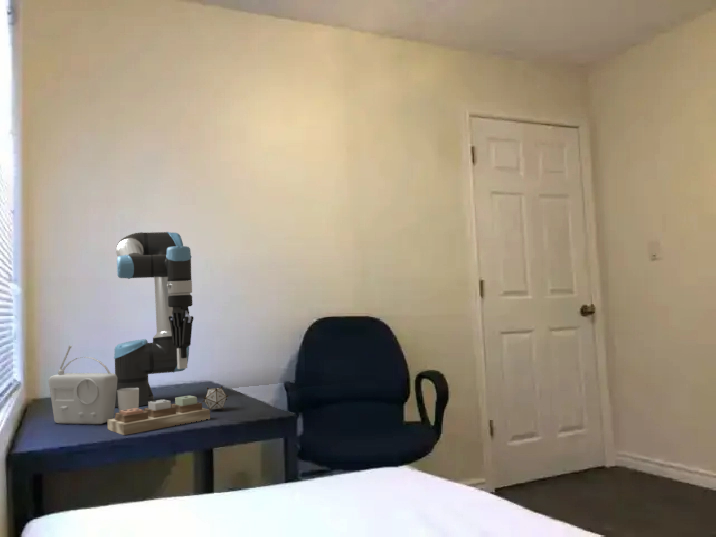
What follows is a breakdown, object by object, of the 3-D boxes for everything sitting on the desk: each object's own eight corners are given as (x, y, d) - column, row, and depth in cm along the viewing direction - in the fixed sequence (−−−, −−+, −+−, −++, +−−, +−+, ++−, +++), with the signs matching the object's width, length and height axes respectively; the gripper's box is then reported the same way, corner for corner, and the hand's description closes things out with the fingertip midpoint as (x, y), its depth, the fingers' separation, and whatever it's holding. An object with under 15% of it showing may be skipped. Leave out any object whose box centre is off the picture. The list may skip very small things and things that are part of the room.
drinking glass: (115, 420, 211) (114, 389, 212) (136, 417, 215) (135, 387, 216) (121, 423, 206) (120, 391, 206) (142, 420, 210) (141, 389, 210)
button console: (107, 429, 198) (107, 412, 198) (191, 414, 217) (191, 399, 217) (123, 435, 189) (123, 417, 189) (210, 419, 208) (209, 403, 208)
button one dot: (175, 405, 209) (175, 397, 209) (189, 403, 213) (189, 395, 213) (182, 407, 206) (182, 398, 206) (197, 404, 209) (196, 396, 209)
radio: (45, 424, 210) (43, 346, 210) (63, 419, 218) (61, 344, 218) (103, 426, 204) (101, 345, 205) (120, 420, 212) (118, 343, 213)
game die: (219, 422, 221) (220, 401, 216) (197, 413, 223) (197, 392, 218) (232, 404, 229) (233, 384, 223) (210, 396, 230) (211, 375, 225)
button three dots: (120, 418, 197) (119, 410, 197) (136, 416, 201) (135, 407, 201) (126, 420, 194) (126, 412, 194) (143, 418, 197) (142, 409, 197)
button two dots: (148, 409, 203) (148, 401, 203) (163, 407, 207) (163, 399, 207) (155, 411, 200) (155, 403, 200) (170, 409, 203) (170, 400, 203)
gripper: (160, 295, 212) (162, 368, 211) (178, 294, 202) (180, 371, 202) (181, 294, 217) (184, 365, 216) (200, 293, 207) (202, 368, 207)
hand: (182, 368), depth 209 cm, fingers closed
